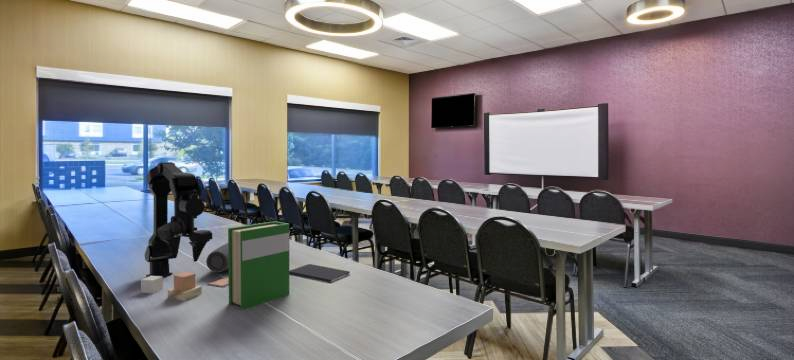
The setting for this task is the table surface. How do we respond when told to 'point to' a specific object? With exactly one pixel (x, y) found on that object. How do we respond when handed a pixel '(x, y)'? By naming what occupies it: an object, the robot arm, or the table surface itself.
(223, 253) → the bluetooth speaker
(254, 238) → the hardback book
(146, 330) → the table surface
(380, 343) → the table surface
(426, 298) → the table surface
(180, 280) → the terracotta cube
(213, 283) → the tile
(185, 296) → the maple base block
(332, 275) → the notebook
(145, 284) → the offwhite cube
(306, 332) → the table surface
